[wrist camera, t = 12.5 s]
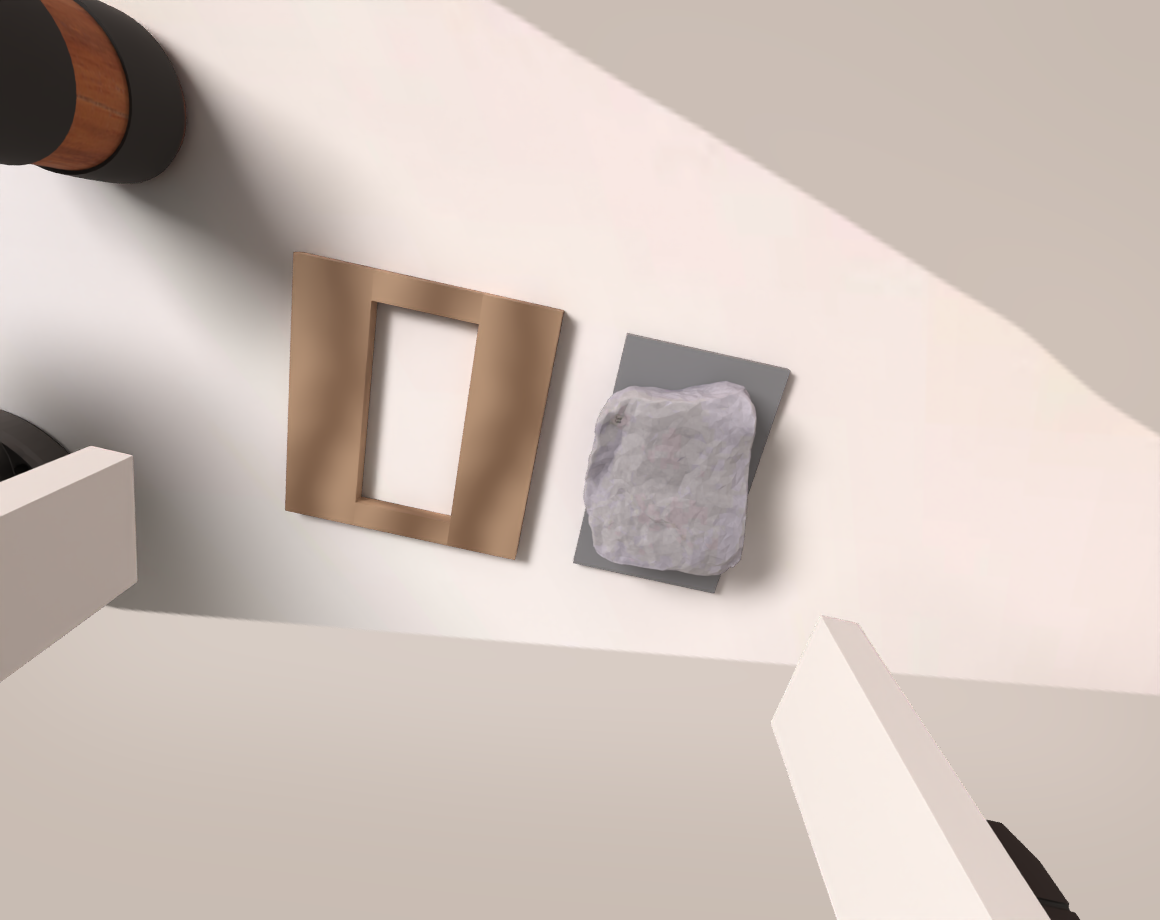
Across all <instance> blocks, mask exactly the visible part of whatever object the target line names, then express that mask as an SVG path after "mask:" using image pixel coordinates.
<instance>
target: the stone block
mask: <svg viewBox="0 0 1160 920" xmlns="http://www.w3.org/2000/svg"><path fill="white" fill-rule="evenodd" d="M755 429H756V410H755V406H754V405H753V403H752V402H751V398H750V395H749V393H748V392H747V390H746V388H745V387H744V386H741V385H738V384H735V383H731V382H728V381H723V382H715V383H711V384H703V385H697V386H691V387H688V388H684V389H678V390H668V389H662V388H657V387H639V386H630V387H627V388H625V389H623V390H621V391H618V392H616V393H614V394H613V395H612V396H611V397H610V398H609V399H608V400H607V403H606V404H605V406H604V407H603V409H602V410H601V412H600V415H599V417H598V419H597V422H596V426H595V439H594V443H593V448H592V451H591V454H590V456H589V462H588V469H587V472H586V477H585V486H584V502H585V506H586V510H587V513H588V515H589V518H588V521H589V525H590V527H591V530H592V536H593V546H594V547H595V550H596V552H597V553H598V554H599V555H600V556H602V557H603V558H606V559H607V560H609V561H611V562H614V563H618V564H622V565H632V566H638V567H643V568H649V569H657V570H661V571H663V570H677V571H681V572H685V573H688V574H694V575H702V576H710V575H719V574H721V573H723V572H725V571H727V569H728V568H729V567H734V566H735V565H736V564H737V563H738V562H739V561H740V560H741V554H742V549H743V543H744V536H745V522H746V514H747V493H748V473H749V463H750V458H751V448H752V444H753V441H754V437H755Z"/></svg>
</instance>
